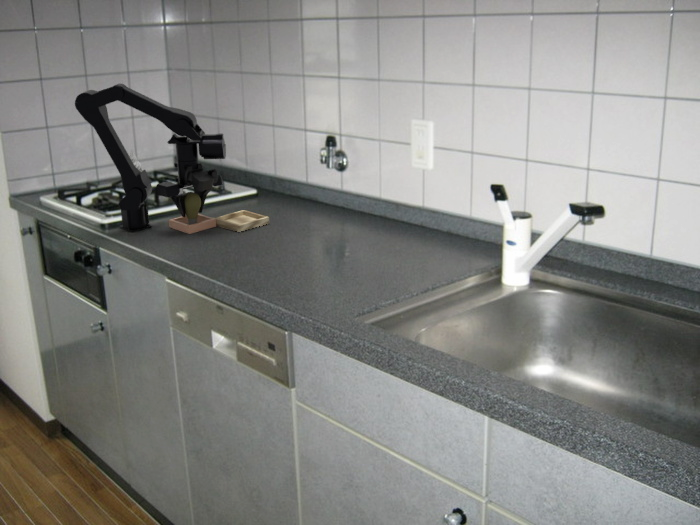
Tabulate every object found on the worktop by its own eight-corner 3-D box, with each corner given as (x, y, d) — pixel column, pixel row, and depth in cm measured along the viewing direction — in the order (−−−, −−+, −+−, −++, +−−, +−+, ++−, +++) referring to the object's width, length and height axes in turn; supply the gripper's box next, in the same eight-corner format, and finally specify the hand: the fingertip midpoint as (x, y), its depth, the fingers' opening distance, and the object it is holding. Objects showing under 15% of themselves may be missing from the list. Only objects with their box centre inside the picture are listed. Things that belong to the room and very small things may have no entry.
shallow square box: (189, 234, 209) (188, 226, 208) (169, 227, 215) (168, 219, 214) (216, 226, 215) (215, 218, 215) (196, 220, 221) (195, 212, 221)
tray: (239, 232, 210) (238, 225, 209) (213, 224, 217) (213, 218, 216) (269, 223, 217) (269, 217, 217) (243, 216, 224) (243, 209, 224)
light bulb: (179, 229, 213) (176, 194, 210) (188, 223, 218) (185, 189, 215) (197, 230, 212) (194, 195, 208) (206, 224, 217) (203, 190, 214)
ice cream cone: (127, 194, 249) (122, 148, 244) (143, 192, 251) (138, 147, 246) (130, 198, 245) (125, 151, 239) (146, 196, 247) (141, 149, 241)
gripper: (176, 169, 197) (181, 228, 202) (233, 157, 210) (236, 213, 215) (151, 163, 204) (157, 220, 210) (208, 152, 217) (211, 205, 222)
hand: (191, 214), depth 214 cm, fingers closed on light bulb, 5 cm apart
